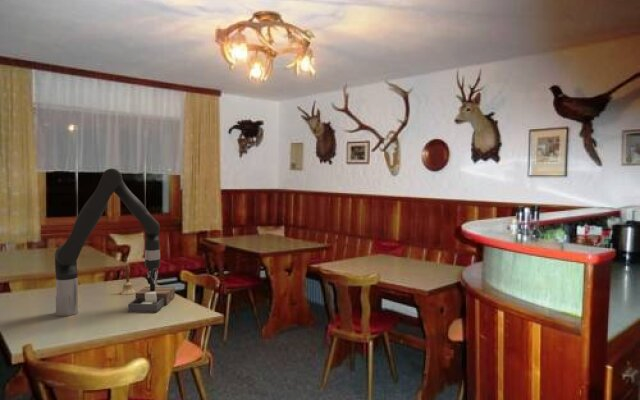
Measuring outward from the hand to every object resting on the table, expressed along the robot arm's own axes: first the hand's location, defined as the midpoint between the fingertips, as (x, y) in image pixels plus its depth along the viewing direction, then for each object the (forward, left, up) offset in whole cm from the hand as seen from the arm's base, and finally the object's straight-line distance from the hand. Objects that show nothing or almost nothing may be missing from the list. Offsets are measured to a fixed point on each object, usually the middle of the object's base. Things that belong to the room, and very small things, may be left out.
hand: (152, 290), depth 239 cm
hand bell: (+20, +21, -7) cm, 30 cm away
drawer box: (+4, 0, -7) cm, 8 cm away
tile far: (-4, -1, -2) cm, 5 cm away
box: (-9, 0, -7) cm, 11 cm away
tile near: (-9, 0, -4) cm, 10 cm away
